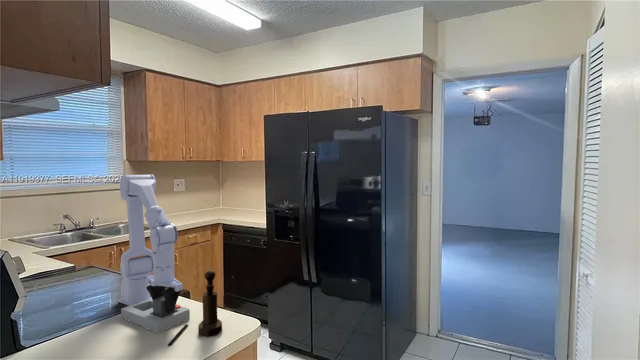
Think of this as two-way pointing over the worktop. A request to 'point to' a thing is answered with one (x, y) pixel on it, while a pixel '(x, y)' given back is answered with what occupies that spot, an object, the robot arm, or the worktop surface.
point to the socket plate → (153, 316)
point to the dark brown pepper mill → (210, 309)
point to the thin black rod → (177, 335)
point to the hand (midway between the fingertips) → (164, 309)
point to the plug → (160, 307)
